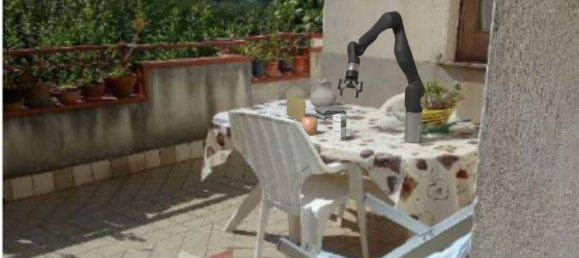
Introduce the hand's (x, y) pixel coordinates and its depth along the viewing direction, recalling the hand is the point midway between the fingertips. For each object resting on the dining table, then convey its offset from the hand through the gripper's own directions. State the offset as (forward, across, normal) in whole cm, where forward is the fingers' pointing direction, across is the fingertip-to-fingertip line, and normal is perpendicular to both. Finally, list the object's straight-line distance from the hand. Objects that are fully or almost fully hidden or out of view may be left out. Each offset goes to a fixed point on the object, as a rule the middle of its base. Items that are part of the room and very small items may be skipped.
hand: (348, 96), depth 332 cm
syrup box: (+23, -2, +10) cm, 25 cm away
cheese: (-6, -32, +56) cm, 65 cm away
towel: (-15, -12, +64) cm, 67 cm away
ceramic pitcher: (-35, -20, +92) cm, 100 cm away
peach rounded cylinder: (+18, -20, +20) cm, 34 cm away
